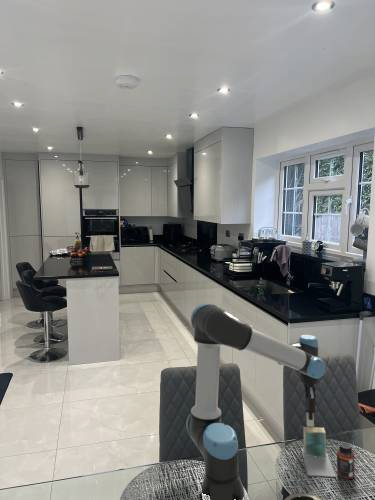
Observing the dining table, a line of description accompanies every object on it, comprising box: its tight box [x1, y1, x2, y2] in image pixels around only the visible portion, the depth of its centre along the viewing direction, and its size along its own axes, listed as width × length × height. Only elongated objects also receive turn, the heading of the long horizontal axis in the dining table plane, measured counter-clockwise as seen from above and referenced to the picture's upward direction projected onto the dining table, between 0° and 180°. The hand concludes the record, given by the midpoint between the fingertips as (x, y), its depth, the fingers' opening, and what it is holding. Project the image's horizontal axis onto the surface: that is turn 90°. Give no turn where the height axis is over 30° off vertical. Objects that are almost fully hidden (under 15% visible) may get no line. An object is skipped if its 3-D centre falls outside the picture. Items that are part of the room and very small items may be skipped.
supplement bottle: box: [336, 441, 356, 480], centre depth 134 cm, size 6×6×11 cm
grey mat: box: [300, 447, 337, 478], centre depth 142 cm, size 10×16×1 cm, turn 172°
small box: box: [302, 426, 327, 457], centre depth 146 cm, size 8×4×10 cm, turn 81°
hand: (310, 425), depth 155 cm, fingers closed
